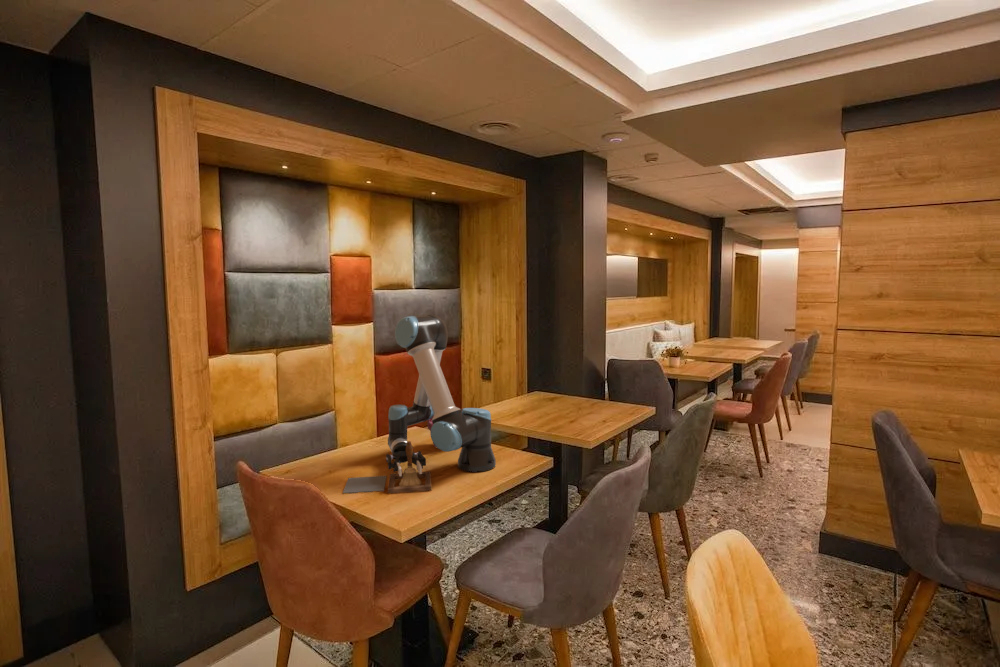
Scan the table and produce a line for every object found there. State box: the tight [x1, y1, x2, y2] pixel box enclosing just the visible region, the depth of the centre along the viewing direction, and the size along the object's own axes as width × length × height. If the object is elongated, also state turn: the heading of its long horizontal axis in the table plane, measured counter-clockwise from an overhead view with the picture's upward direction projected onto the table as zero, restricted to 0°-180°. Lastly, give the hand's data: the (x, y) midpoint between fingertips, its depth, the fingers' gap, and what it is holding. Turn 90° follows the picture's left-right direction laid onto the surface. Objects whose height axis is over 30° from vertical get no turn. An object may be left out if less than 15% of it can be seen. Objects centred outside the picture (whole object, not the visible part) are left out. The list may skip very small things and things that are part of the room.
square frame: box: [387, 471, 432, 494], centre depth 186 cm, size 15×15×2 cm
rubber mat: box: [342, 475, 388, 494], centre depth 185 cm, size 14×14×1 cm
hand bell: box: [398, 440, 423, 487], centre depth 185 cm, size 8×8×16 cm
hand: (410, 471), depth 181 cm, fingers open, 6 cm apart
